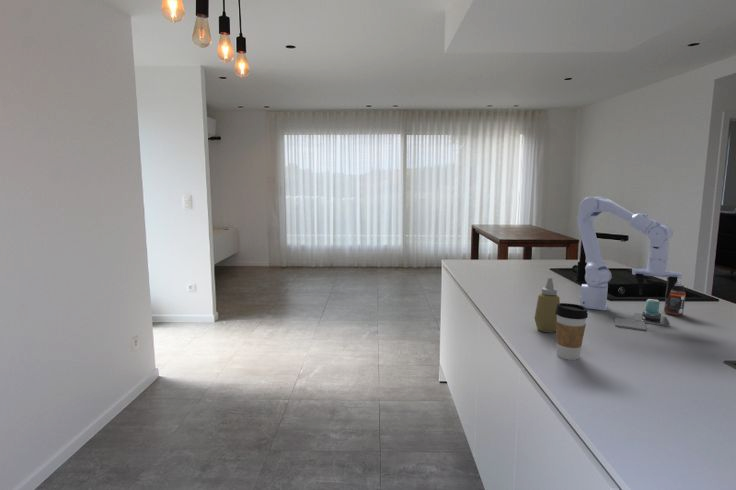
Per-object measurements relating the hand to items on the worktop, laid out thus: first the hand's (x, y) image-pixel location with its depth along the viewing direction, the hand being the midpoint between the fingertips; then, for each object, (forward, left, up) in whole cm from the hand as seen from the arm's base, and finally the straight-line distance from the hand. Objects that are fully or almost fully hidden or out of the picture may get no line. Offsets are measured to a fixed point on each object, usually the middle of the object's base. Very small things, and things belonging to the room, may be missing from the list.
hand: (653, 295), depth 154 cm
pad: (-7, -10, -9) cm, 15 cm away
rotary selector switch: (0, 0, -9) cm, 9 cm away
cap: (0, 0, -6) cm, 7 cm away
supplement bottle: (+8, +13, -9) cm, 18 cm away
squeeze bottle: (-32, -30, -9) cm, 45 cm away
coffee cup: (-24, -50, -9) cm, 56 cm away
